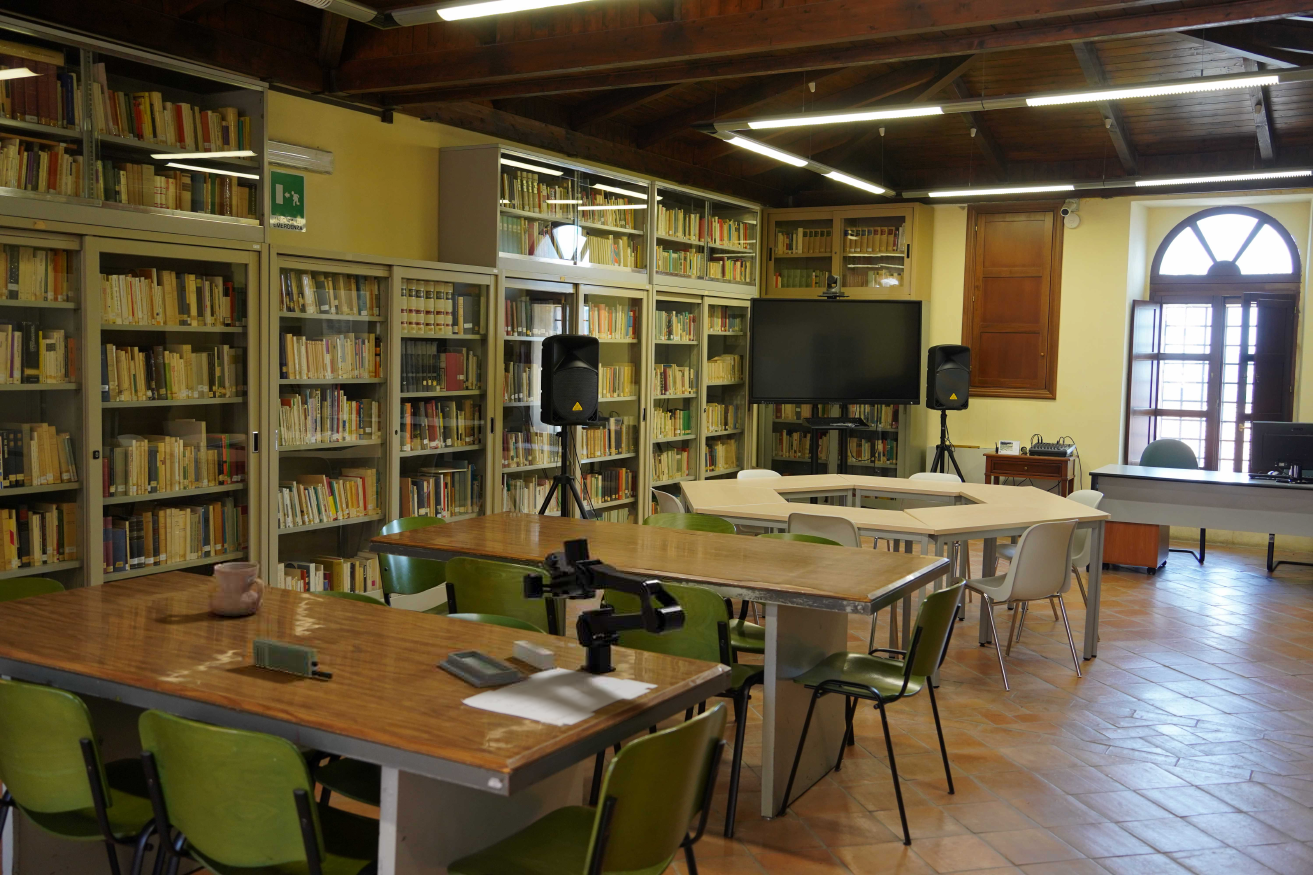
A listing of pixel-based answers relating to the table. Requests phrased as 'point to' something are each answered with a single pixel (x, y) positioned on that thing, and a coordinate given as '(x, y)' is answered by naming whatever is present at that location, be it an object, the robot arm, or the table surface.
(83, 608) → the table surface
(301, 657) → the handheld radio
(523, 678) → the grey rectangular tray
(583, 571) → the robot arm
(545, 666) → the white long block
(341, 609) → the table surface
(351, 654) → the table surface
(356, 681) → the table surface
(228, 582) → the pink mug
